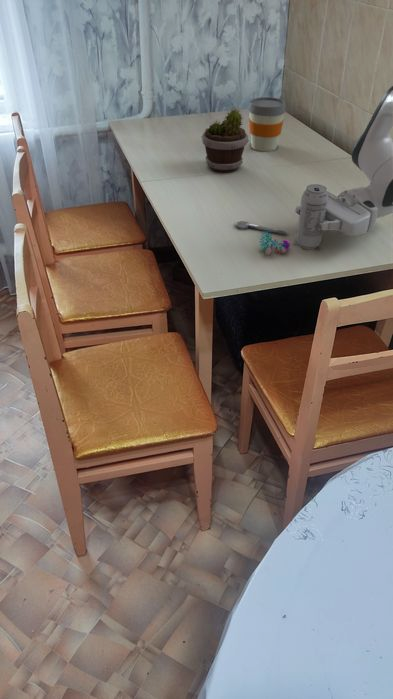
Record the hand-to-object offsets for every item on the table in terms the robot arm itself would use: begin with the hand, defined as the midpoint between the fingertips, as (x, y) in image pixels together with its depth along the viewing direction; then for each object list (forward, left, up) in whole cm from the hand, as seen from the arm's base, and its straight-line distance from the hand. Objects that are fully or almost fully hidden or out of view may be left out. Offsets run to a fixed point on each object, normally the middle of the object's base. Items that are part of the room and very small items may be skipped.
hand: (308, 218), depth 133 cm
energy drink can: (-1, -1, -8) cm, 8 cm away
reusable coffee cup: (+32, -65, -8) cm, 72 cm away
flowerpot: (+38, -41, -8) cm, 56 cm away
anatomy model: (+6, +7, -8) cm, 12 cm away
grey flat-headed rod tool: (+13, -4, -7) cm, 15 cm away
